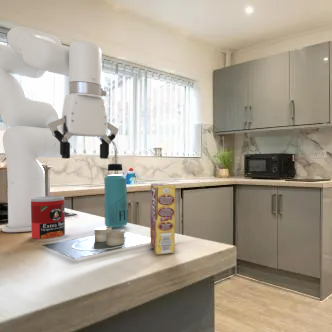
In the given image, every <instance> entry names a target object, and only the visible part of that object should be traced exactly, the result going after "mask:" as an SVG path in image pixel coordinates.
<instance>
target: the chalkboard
mask: <svg viewBox="0 0 332 332" xmlns="http://www.w3.org/2000/svg"><path fill="white" fill-rule="evenodd" d="M147 243H150V237H147V236H143V235H140V234H135V233H131V232H127V231H124V244H121V245H115V246H109V245H106V241H105V242H96V241H95V235H90V236H84V237H78V238H71V239H67V240H61V241H56V242H51V243H45V244H41V246H42V247H45V248H47V249H50V250H51V251H54V252H57V253H60V254H61V255H63V256H67V257H68V258H71V259H73V260H76V259H80V258H86V257H90V256H94V255H98V254H103V253H107V252H112V251H116V250H121V249H126V248H130V247H134V246H139V245H142V244H147Z"/></svg>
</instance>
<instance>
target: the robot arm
mask: <svg viewBox="0 0 332 332" xmlns="http://www.w3.org/2000/svg"><path fill="white" fill-rule="evenodd" d="M6 40H7V41H6V42H7V43H8V45H6V44H1V43H0V118H1V120H2V123H4V125H6V126H7V127H9V128H7V129H6V130H5V131H4V132H3V135H2V147H3V150H4V154H5V161H6V171H7V172H6V175H7V177H6V178H7V219H8V220H7V221H8V222H7V224H6V225H3V226H2V227H1V232H4V233H25V232H26V233H27V232H32V228H31V199H32V198H36V197H46V178H45V177H46V174H45V170H44V167H43V166H42V164H41V163H40V162H39V160H38V159H37V158H60V157H61V159H70V158H71V142H69V140H70V139H71V138H72V137H73V136H75V137H90V138H91V137H92V138H93V137H97V138H98V140H99V141H100V142H101V143H100V144H99V159H101V160H105V159H106V160H107V159H109V155H110V144H111V143H112V142H113V141H114V139H115V138H116V136H117V134H118V132H119V128H117V127H116V126H115V125H113V124H111V123H110V122H109V121H108V115H107V106H106V102H105V99H104V98H103V97H106V96H107V91H106V90H103V85H102V81H103V64H102V63H103V52H102V49H101V46H99V45H98V44H96V43H93V42H91V41H86V40H75V41H72V42H71V43H70V44H69V46H68V45H67V46H66V45H63V44H62V42H61V40H60V39H59V38H58V37H57V36H55V35H53V34H50V33H48V32H47V33H46V32H44V31H40V30H38V29H34V28H31V27H28V26H20V25H19V26H15V27H12V28H10V29H9V31H8V32H7V34H6ZM47 73H51V74H58V75H62V76H66V77H68V87H69V88H68V94H66V95H65V97H64V100H63V106H62V112H61V116H60V114H59V112H58V109H57V108H56V107H55V106H54V105H52V104H51V103H48V102H45V101H38V100H33V99H31V98H29V97H28V95H27V92H26V90H25V88H24V86H23V84H21V82H20V81H19V80H18V79H17V78H15V76H12V75H17V76H21V77H26V78H33V79H39V78H42V77H44V76H45V75H46V74H47ZM108 130H109V131H110V132H109V134H108ZM107 134H108V135H107Z"/></svg>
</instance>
